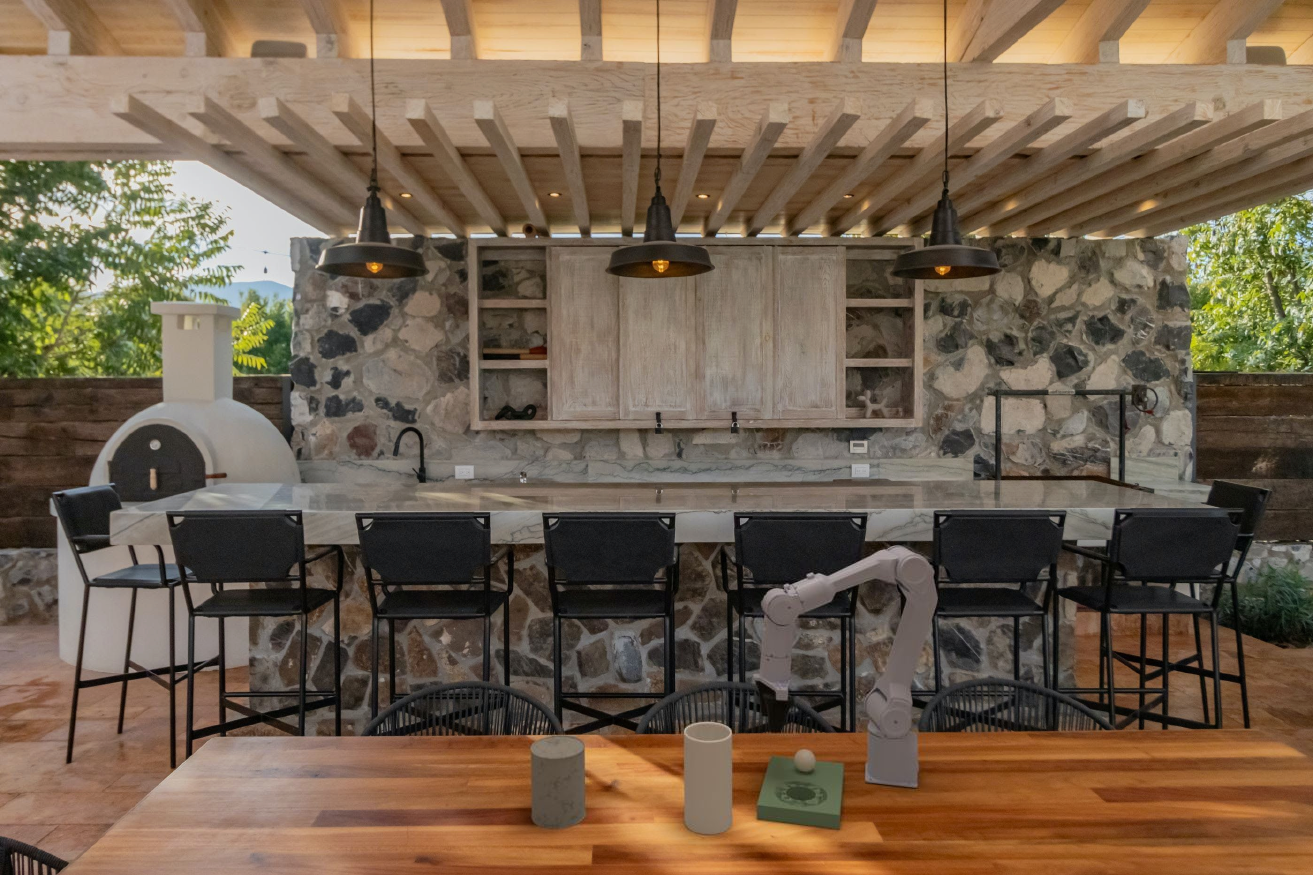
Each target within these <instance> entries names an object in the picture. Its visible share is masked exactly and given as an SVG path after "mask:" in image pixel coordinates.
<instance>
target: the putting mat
mask: <svg viewBox="0 0 1313 875" xmlns="http://www.w3.org/2000/svg"><path fill="white" fill-rule="evenodd" d="M844 775H845V763H841V762H834V761H823V760H816V764H815V767H814V768H813V769H812V770H811V771H809V772H802V771H800V770H799V769H798V768H797V767H796V765H795V762H794V757H784V756H776V755H770V758H769V763H768V764H767V769H766V772H765V776H764V779H763V782H762V785H761V790H760V793H759V796H758V799H757V803H756V819H757V820H762V821H771V822H778V823H784V824H785V823H787V824H792V825H793V824H794V825H802V826H809V827H810V826H811V827H816V828H817V827H818V828H825V829H834V830H840V827H841V826H840V825H841V814H842V813H841V812H842V804H843V803H842V802H843V789H844V780H845V779H844V778H845V776H844Z"/></svg>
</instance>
